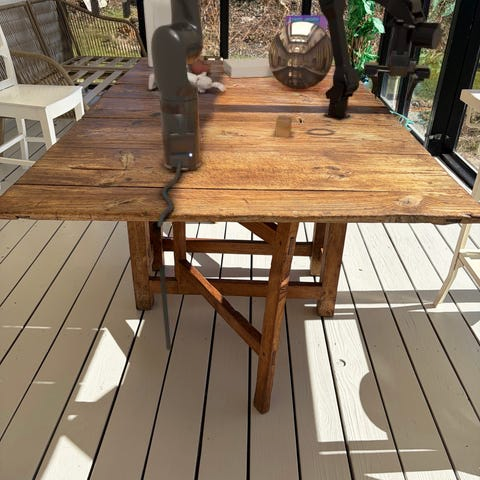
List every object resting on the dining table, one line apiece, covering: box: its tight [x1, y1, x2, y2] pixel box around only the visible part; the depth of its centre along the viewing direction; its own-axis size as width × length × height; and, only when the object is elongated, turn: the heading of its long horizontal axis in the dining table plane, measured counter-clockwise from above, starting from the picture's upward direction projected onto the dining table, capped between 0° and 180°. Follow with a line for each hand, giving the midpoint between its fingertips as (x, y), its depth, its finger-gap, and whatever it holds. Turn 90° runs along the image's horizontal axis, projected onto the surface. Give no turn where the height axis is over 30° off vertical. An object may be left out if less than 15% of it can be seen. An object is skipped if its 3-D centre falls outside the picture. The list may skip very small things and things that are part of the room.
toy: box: [148, 71, 227, 94], centre depth 184 cm, size 24×25×7 cm
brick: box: [275, 115, 293, 138], centre depth 143 cm, size 5×4×5 cm
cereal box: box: [284, 14, 328, 32], centre depth 210 cm, size 17×5×24 cm, turn 106°
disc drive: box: [222, 57, 275, 79], centre depth 214 cm, size 18×22×5 cm
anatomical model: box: [187, 55, 212, 76], centre depth 208 cm, size 13×9×15 cm
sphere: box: [268, 21, 334, 91], centre depth 185 cm, size 25×25×25 cm
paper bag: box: [143, 0, 189, 69], centre depth 223 cm, size 19×15×28 cm
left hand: (111, 16), depth 127 cm, fingers open, 8 cm apart
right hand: (391, 99), depth 145 cm, fingers open, 9 cm apart
